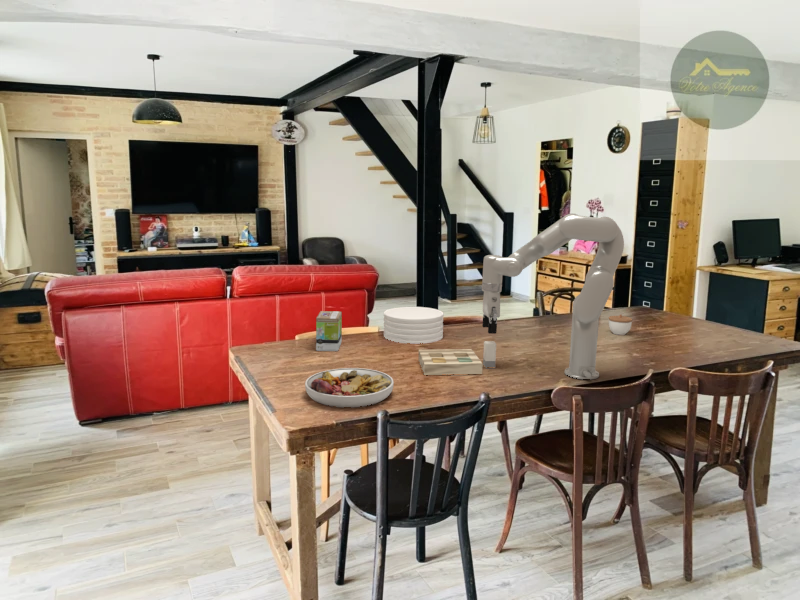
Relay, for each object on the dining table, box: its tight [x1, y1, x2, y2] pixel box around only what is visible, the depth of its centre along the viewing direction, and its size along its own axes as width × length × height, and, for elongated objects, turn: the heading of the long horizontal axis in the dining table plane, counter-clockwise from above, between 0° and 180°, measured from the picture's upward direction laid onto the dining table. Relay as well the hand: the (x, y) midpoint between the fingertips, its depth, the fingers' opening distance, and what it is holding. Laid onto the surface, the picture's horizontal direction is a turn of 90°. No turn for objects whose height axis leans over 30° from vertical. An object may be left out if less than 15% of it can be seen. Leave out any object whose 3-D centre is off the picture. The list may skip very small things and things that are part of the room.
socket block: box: [418, 348, 483, 376], centre depth 235 cm, size 20×22×5 cm
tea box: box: [315, 310, 343, 352], centre depth 263 cm, size 15×10×15 cm
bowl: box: [304, 367, 394, 408], centre depth 205 cm, size 30×30×8 cm
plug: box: [482, 340, 497, 369], centre depth 236 cm, size 4×4×10 cm
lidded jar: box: [608, 314, 633, 336], centre depth 291 cm, size 11×11×9 cm
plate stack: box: [383, 306, 444, 345], centre depth 283 cm, size 28×28×12 cm
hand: (489, 330), depth 235 cm, fingers open, 9 cm apart
